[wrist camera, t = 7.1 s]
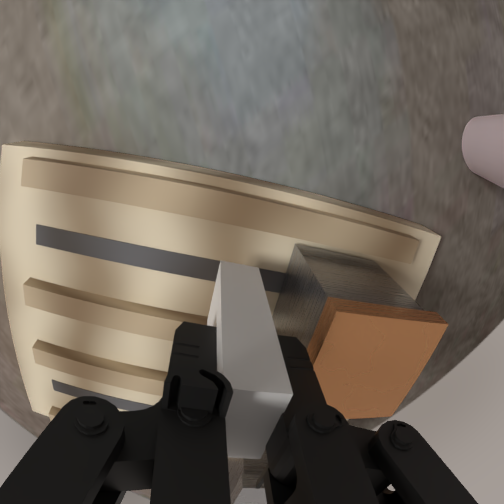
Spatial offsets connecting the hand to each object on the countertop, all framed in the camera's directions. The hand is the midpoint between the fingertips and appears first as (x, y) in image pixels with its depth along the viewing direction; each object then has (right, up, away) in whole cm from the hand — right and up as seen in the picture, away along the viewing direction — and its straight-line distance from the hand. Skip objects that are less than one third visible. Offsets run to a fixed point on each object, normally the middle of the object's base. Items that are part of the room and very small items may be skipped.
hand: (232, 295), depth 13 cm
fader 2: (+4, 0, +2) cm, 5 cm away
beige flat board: (-2, -3, +5) cm, 6 cm away
